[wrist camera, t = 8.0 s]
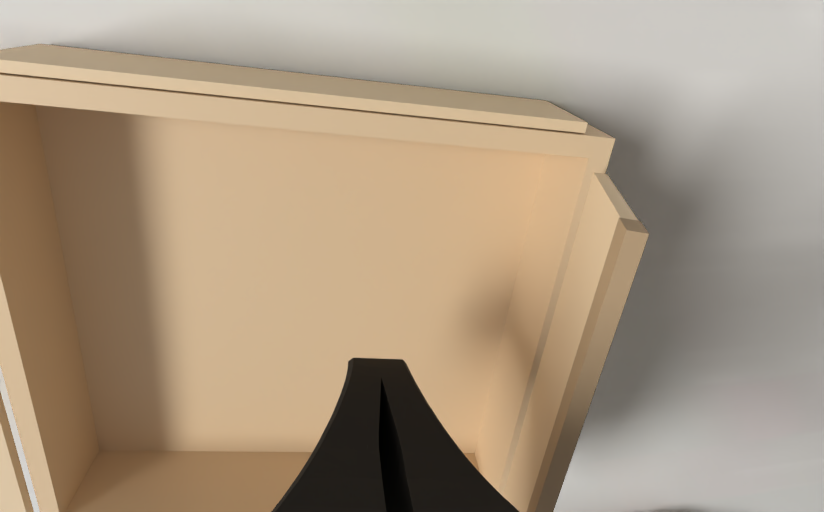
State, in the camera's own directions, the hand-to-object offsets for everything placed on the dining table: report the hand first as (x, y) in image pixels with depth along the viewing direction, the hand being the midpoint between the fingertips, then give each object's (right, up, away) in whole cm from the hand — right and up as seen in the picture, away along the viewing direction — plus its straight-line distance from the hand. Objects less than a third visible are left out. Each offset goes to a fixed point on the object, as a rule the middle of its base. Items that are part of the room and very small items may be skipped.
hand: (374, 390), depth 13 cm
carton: (-2, +2, +3) cm, 5 cm away
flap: (+4, 0, +2) cm, 5 cm away
